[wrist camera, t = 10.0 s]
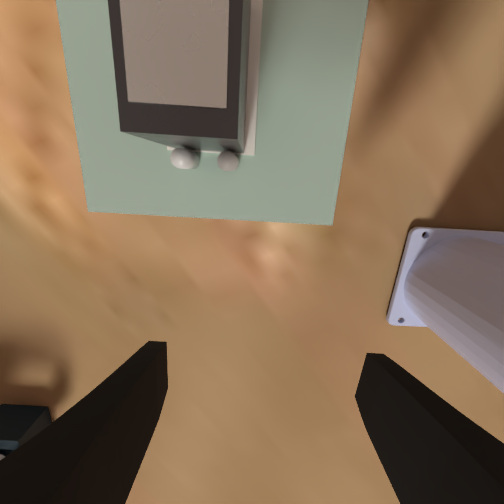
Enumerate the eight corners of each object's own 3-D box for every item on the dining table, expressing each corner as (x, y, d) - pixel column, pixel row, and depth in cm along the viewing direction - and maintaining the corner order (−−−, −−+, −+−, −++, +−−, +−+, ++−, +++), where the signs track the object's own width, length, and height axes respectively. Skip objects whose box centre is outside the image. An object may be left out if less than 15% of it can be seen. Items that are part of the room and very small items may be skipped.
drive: (251, 5, 12) (249, -166, 6) (243, 153, 15) (237, 138, 8) (172, -1, 12) (88, -181, 6) (176, 148, 14) (118, 130, 8)
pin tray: (372, -87, 13) (424, -199, 9) (325, 220, 18) (346, 234, 14) (58, -110, 12) (-29, -236, 9) (101, 208, 17) (59, 218, 13)
